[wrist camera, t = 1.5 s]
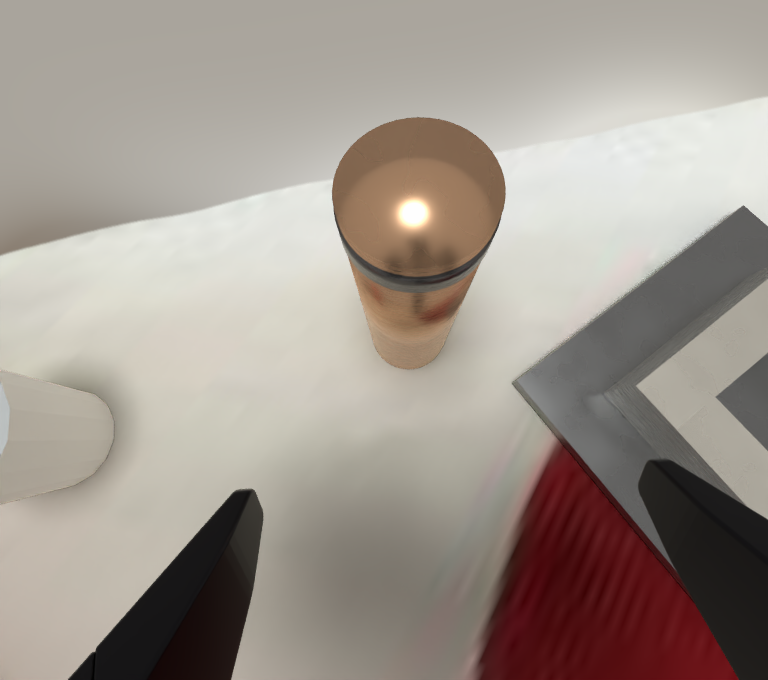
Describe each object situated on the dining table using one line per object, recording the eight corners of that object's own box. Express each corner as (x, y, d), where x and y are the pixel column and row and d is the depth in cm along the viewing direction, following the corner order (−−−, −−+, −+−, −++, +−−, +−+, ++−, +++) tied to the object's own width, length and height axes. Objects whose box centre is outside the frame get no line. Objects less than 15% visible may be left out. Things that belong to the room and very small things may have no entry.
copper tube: (460, 340, 23) (545, 202, 9) (401, 385, 23) (400, 305, 9) (415, 285, 24) (433, 88, 10) (357, 326, 24) (297, 175, 10)
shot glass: (-13, 467, 22) (-192, 480, 16) (56, 362, 24) (-80, 333, 17) (80, 521, 21) (-68, 560, 15) (147, 408, 23) (40, 396, 16)
